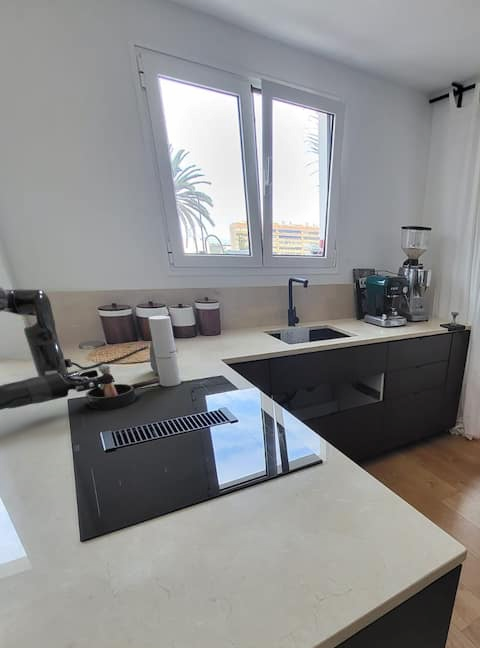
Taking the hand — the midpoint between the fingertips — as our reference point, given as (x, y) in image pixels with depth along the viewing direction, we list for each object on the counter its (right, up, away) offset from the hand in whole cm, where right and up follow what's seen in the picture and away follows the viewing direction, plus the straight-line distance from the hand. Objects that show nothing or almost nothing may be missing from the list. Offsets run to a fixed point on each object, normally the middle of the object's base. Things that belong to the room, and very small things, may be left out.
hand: (103, 375), depth 128 cm
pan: (0, -8, +5) cm, 10 cm away
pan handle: (+7, -3, +12) cm, 14 cm away
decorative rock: (+3, +4, +34) cm, 34 cm away
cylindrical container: (+11, -1, +23) cm, 26 cm away
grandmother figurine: (0, -8, +4) cm, 9 cm away
